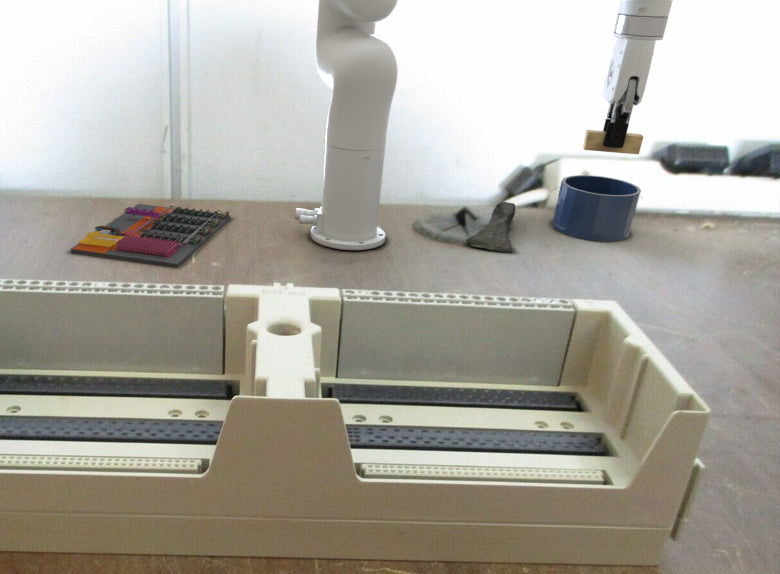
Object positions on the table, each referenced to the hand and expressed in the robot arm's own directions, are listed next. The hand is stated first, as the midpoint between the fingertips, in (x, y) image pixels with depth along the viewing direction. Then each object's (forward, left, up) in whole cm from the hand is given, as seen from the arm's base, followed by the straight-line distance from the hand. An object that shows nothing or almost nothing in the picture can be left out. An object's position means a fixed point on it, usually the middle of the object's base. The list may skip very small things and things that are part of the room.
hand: (611, 144), depth 131 cm
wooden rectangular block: (0, 0, -1) cm, 1 cm away
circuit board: (-73, -27, -15) cm, 79 cm away
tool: (-16, -8, -15) cm, 24 cm away
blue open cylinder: (0, 0, -15) cm, 15 cm away
